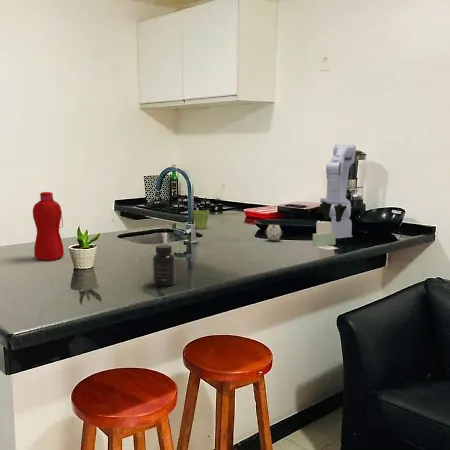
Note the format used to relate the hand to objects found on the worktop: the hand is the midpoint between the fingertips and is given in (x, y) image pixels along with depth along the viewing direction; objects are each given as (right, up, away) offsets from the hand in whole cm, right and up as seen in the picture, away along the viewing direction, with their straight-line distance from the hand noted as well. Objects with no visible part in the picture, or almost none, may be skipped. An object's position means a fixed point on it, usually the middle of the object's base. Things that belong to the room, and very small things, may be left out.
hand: (332, 220), depth 225 cm
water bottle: (-113, -15, -33) cm, 119 cm away
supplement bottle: (-66, -21, -67) cm, 96 cm away
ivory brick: (-4, -6, -4) cm, 8 cm away
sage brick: (-4, -11, -3) cm, 12 cm away
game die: (-25, -10, +5) cm, 28 cm away
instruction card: (-4, -12, -8) cm, 15 cm away
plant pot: (-60, -4, +39) cm, 72 cm away
